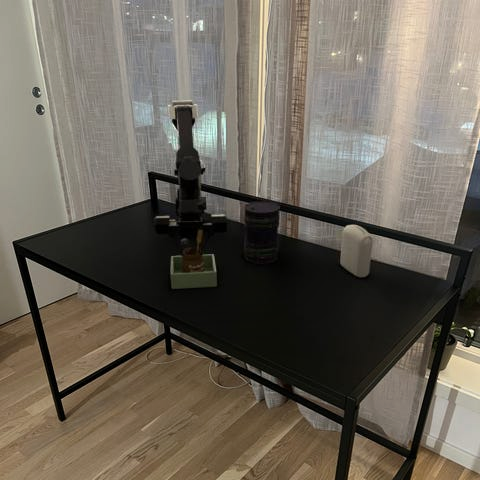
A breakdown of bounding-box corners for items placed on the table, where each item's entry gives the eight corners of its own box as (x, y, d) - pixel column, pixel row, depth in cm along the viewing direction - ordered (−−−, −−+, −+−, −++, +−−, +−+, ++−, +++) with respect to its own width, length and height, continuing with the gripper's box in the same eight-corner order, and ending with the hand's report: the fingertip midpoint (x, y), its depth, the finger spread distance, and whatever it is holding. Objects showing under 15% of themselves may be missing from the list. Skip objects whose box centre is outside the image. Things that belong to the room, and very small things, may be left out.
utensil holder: (177, 275, 137) (174, 233, 131) (196, 268, 141) (193, 226, 134) (191, 282, 133) (188, 239, 127) (210, 275, 137) (208, 232, 131)
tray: (172, 269, 142) (170, 256, 140) (214, 267, 143) (213, 254, 141) (171, 288, 132) (170, 274, 130) (217, 286, 133) (216, 272, 131)
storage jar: (269, 247, 154) (270, 199, 147) (284, 260, 147) (286, 209, 139) (238, 253, 151) (238, 204, 143) (252, 266, 143) (252, 214, 136)
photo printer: (337, 264, 144) (341, 222, 138) (350, 261, 145) (355, 220, 139) (356, 279, 136) (362, 235, 129) (370, 276, 137) (376, 232, 131)
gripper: (151, 185, 128) (151, 243, 124) (225, 183, 129) (228, 241, 125) (156, 206, 139) (156, 260, 135) (225, 204, 140) (227, 258, 136)
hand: (191, 254), depth 132 cm, fingers closed on utensil holder, 5 cm apart
